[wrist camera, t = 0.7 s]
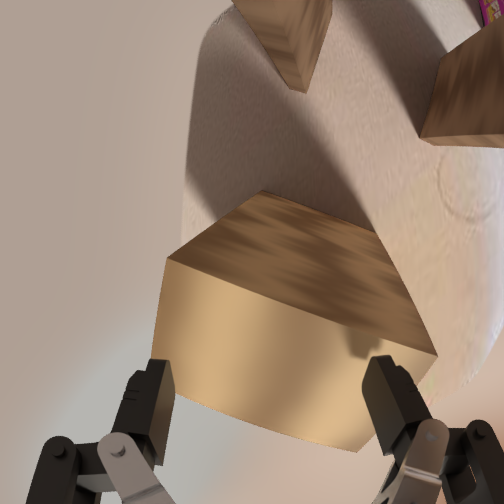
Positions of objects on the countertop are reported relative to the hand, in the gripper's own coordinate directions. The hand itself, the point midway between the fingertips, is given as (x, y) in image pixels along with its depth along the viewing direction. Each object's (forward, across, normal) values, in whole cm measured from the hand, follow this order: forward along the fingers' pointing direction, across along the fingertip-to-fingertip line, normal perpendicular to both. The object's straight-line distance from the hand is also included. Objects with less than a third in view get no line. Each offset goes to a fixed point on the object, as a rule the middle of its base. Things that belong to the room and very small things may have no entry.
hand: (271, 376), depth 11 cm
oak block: (+22, -6, +4) cm, 23 cm away
